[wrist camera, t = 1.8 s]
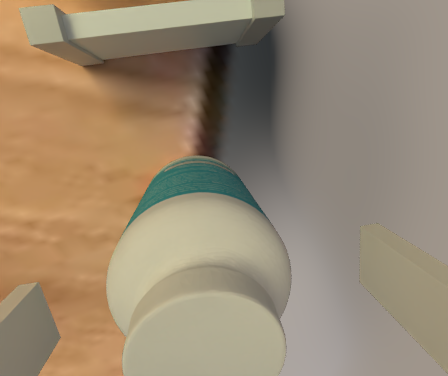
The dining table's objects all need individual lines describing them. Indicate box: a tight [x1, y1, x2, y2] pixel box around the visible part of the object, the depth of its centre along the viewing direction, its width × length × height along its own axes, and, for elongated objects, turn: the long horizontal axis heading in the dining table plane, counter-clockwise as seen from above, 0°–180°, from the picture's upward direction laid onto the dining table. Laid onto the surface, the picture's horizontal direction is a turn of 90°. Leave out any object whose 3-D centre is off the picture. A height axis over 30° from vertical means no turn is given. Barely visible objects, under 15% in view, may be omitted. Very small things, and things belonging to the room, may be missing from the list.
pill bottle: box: [106, 156, 291, 376], centre depth 14 cm, size 8×7×14 cm
